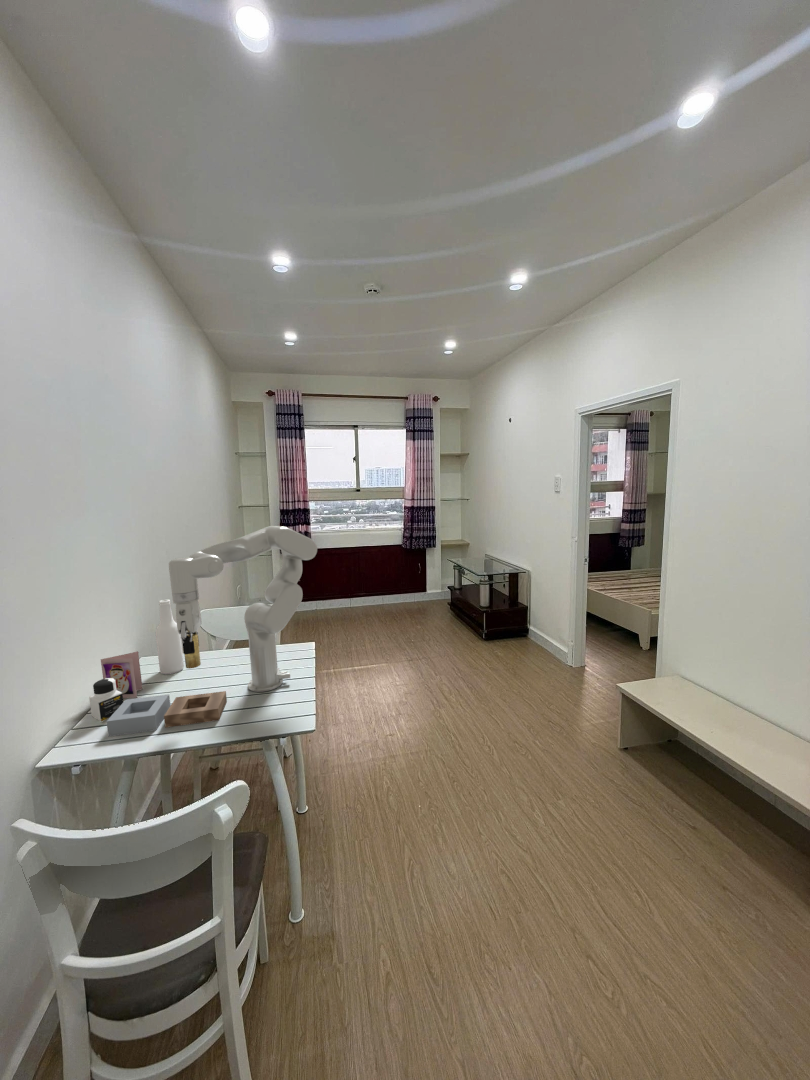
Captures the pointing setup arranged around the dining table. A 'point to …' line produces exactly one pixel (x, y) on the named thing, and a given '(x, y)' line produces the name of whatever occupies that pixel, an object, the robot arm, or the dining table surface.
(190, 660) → the brass axle
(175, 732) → the dining table surface
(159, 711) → the slate seat block
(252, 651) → the robot arm
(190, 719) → the brown hollow frame
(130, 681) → the greeting card
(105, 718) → the medicine bottle
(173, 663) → the alcohol
